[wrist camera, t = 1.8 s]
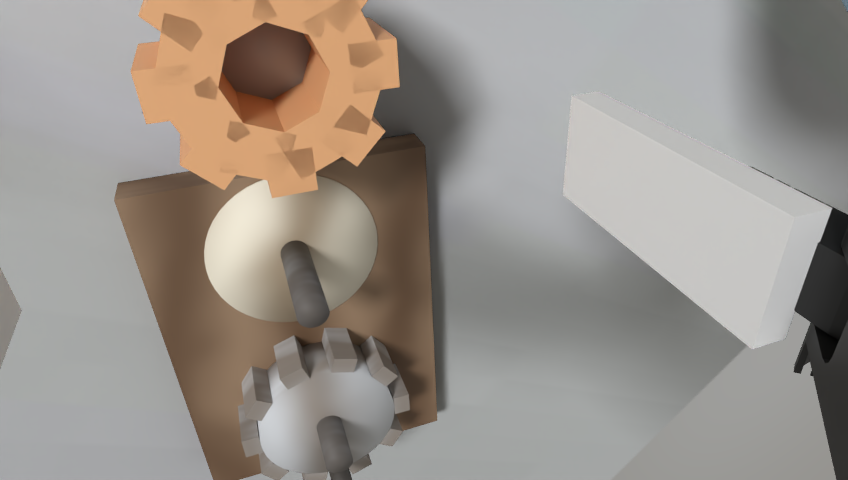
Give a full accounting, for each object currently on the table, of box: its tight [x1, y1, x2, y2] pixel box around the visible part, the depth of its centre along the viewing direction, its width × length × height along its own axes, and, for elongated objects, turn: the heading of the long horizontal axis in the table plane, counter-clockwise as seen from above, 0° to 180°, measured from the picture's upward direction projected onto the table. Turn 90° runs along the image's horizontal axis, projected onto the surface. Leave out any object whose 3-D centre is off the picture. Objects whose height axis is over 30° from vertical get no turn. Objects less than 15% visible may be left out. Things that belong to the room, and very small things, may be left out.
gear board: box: [114, 134, 437, 480], centre depth 35 cm, size 16×22×8 cm
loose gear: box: [131, 0, 400, 198], centre depth 23 cm, size 9×9×4 cm
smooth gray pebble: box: [222, 22, 311, 100], centre depth 27 cm, size 5×5×6 cm
